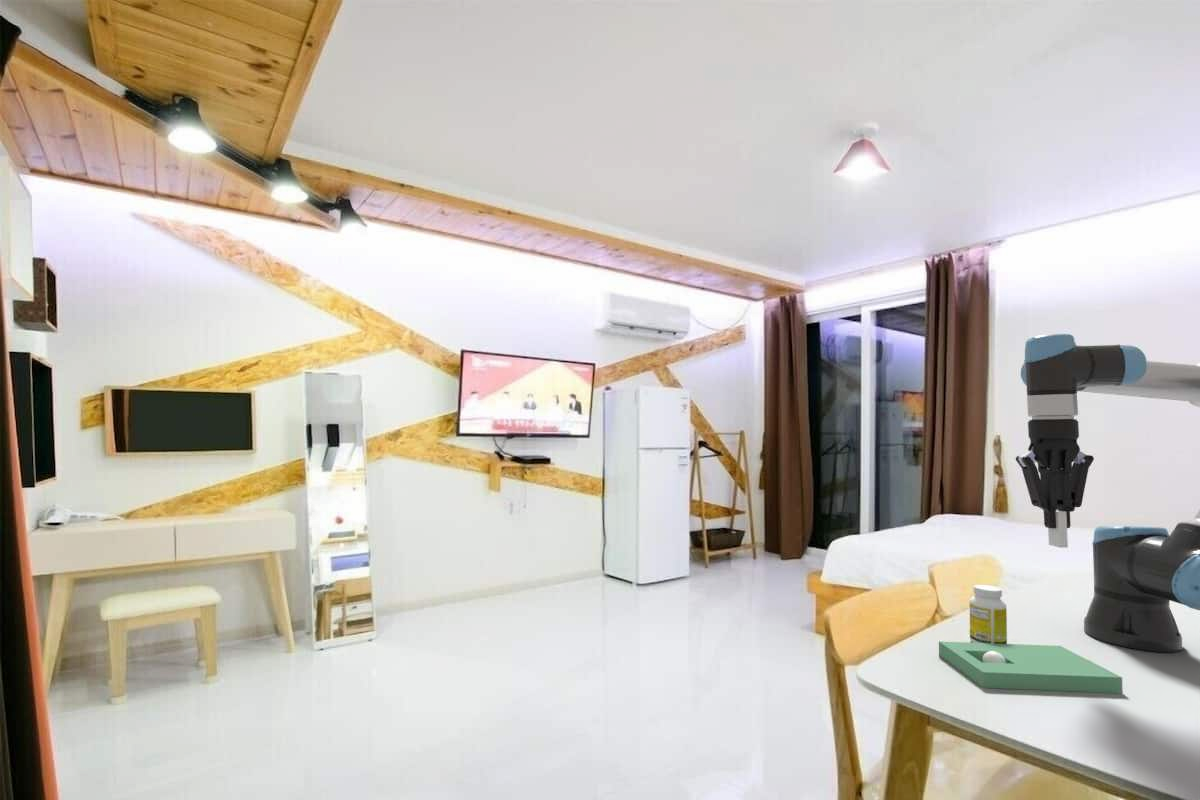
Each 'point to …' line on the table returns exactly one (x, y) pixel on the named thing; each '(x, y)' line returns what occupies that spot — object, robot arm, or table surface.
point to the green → (1030, 667)
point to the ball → (993, 657)
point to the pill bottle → (988, 616)
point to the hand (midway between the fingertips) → (1058, 545)
